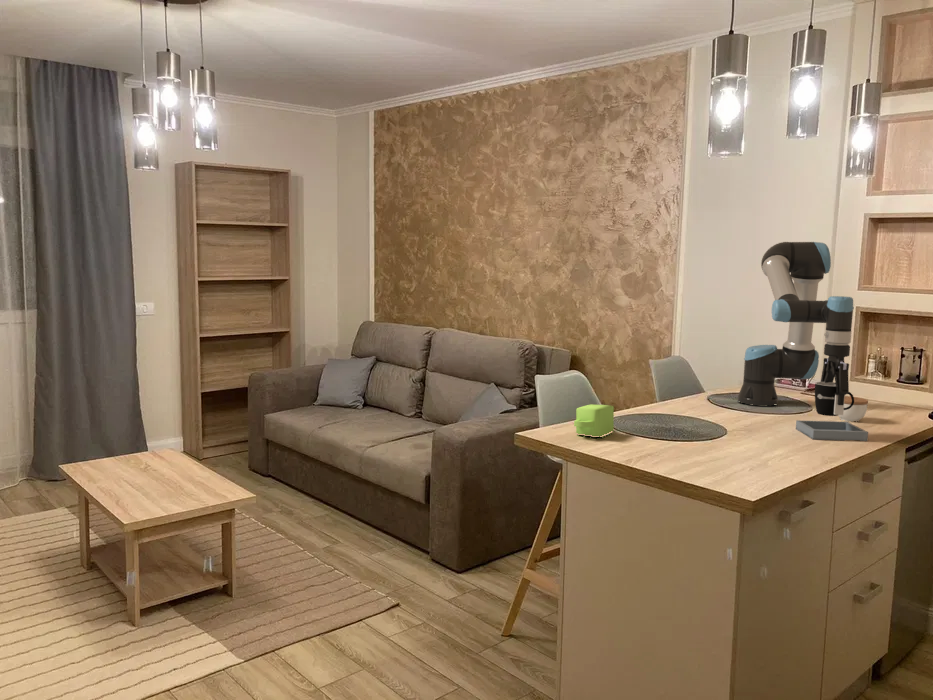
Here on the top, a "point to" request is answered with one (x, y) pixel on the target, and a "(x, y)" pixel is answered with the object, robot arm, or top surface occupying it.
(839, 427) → the gray tray
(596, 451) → the top surface
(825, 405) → the mug
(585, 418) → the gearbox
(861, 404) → the lidded jar
